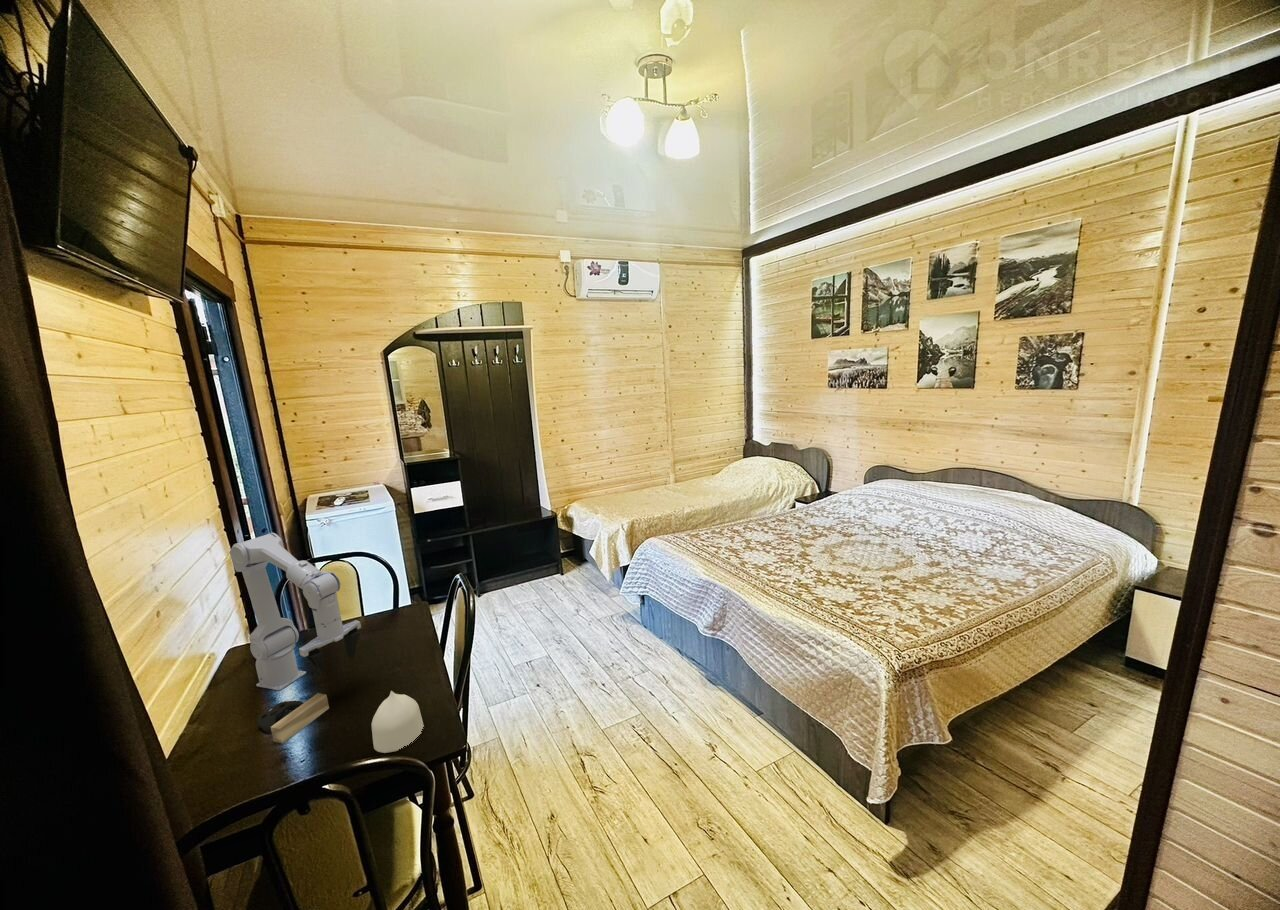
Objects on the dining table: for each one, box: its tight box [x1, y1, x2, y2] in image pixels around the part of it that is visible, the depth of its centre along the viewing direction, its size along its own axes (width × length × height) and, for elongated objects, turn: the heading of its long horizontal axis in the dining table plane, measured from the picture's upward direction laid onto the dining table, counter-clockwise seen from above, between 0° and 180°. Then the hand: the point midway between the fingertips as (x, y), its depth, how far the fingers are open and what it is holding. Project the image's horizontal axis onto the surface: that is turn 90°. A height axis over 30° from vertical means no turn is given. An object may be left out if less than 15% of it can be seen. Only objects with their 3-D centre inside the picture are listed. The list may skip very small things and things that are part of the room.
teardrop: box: [371, 690, 425, 754], centre depth 109 cm, size 11×11×12 cm
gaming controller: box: [256, 700, 304, 734], centre depth 118 cm, size 10×5×6 cm
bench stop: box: [271, 692, 330, 745], centre depth 115 cm, size 3×12×4 cm, turn 163°
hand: (336, 665), depth 123 cm, fingers open, 7 cm apart
